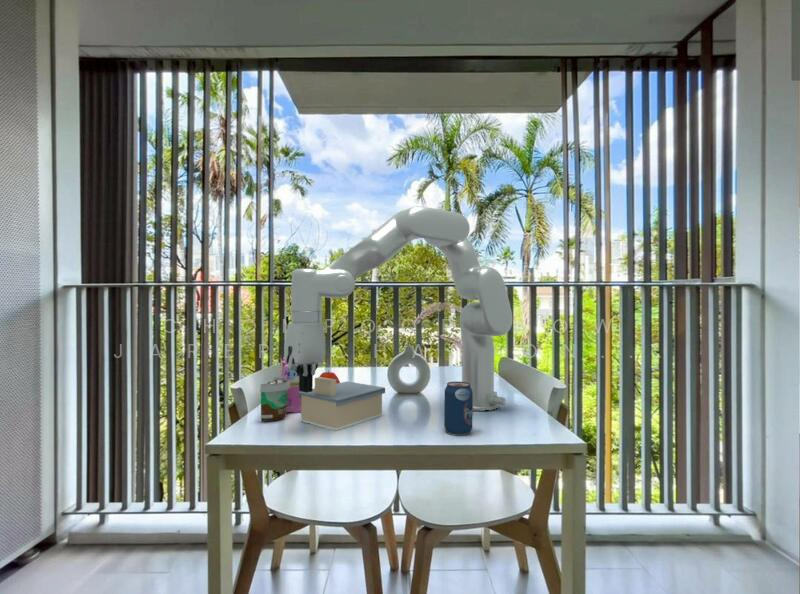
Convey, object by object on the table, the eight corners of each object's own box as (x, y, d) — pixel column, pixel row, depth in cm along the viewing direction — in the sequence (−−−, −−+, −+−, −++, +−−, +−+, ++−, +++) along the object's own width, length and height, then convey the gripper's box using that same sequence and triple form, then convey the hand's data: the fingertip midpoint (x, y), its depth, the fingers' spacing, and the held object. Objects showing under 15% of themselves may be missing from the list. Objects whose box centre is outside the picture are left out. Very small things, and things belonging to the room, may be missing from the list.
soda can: (472, 436, 109) (472, 386, 109) (443, 435, 110) (443, 385, 110) (472, 428, 116) (472, 381, 116) (445, 427, 117) (445, 380, 117)
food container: (282, 423, 119) (283, 385, 119) (258, 422, 119) (260, 384, 119) (295, 412, 131) (296, 377, 131) (273, 411, 131) (275, 376, 131)
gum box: (279, 395, 152) (280, 354, 152) (304, 394, 154) (304, 354, 154) (281, 413, 129) (281, 365, 129) (309, 411, 131) (309, 364, 131)
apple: (313, 408, 135) (313, 372, 134) (315, 402, 143) (315, 368, 143) (341, 408, 136) (341, 372, 136) (341, 401, 144) (341, 367, 144)
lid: (385, 393, 127) (385, 373, 127) (337, 406, 112) (337, 383, 112) (347, 386, 136) (347, 368, 136) (298, 397, 121) (298, 377, 121)
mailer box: (381, 415, 128) (382, 390, 128) (336, 430, 113) (336, 402, 113) (348, 408, 136) (348, 384, 135) (301, 421, 121) (301, 395, 121)
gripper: (318, 316, 122) (317, 384, 122) (272, 318, 110) (271, 394, 110) (338, 317, 117) (337, 388, 118) (292, 319, 106) (292, 398, 106)
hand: (305, 391), depth 114 cm, fingers closed
